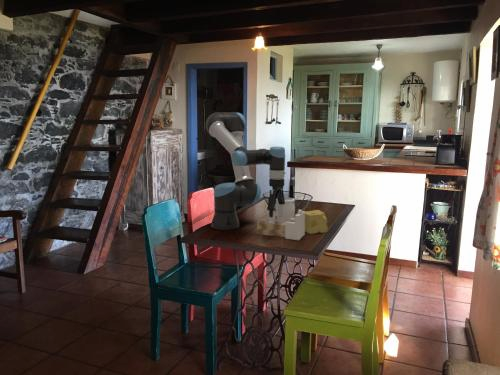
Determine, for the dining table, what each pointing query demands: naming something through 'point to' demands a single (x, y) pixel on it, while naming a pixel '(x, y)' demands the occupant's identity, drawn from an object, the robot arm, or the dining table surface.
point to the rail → (271, 228)
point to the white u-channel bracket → (295, 226)
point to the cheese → (315, 222)
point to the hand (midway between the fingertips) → (276, 219)
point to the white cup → (286, 210)
